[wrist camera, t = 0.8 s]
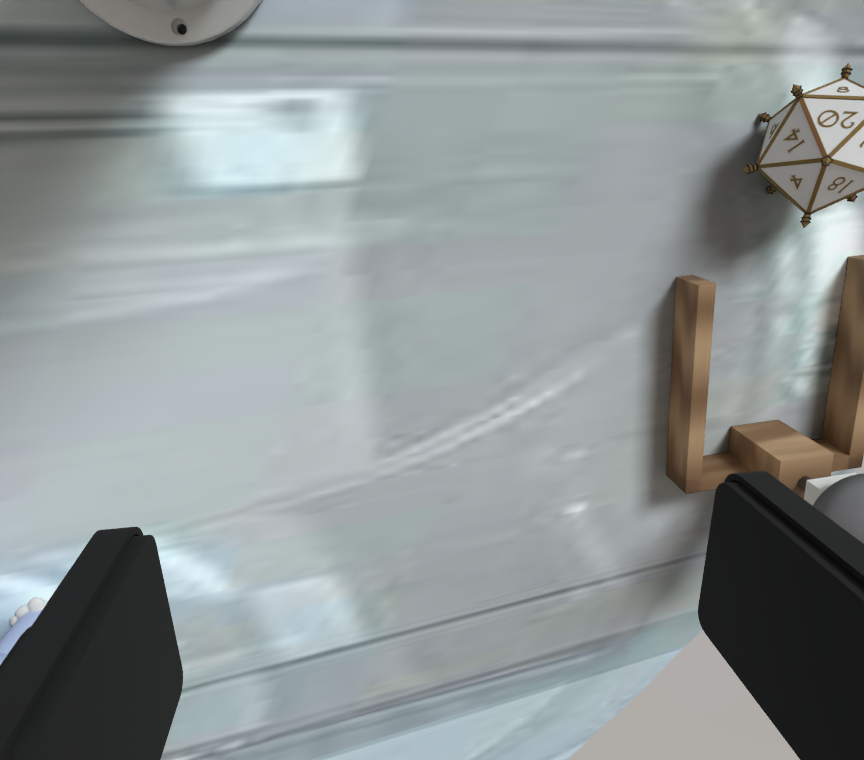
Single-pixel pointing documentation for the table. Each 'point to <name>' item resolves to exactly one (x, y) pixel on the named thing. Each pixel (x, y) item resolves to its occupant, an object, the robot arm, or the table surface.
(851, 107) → the game die
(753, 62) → the table surface
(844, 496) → the wheel
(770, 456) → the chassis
